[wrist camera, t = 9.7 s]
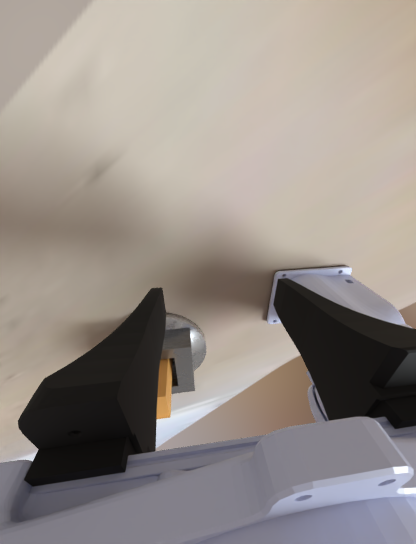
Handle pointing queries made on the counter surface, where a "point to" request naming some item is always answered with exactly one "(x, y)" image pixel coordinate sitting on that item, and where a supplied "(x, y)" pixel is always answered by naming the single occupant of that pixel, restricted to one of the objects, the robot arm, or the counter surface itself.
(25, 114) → the counter surface
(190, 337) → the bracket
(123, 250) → the counter surface
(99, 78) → the counter surface
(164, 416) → the tan rectangular prism
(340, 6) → the counter surface
